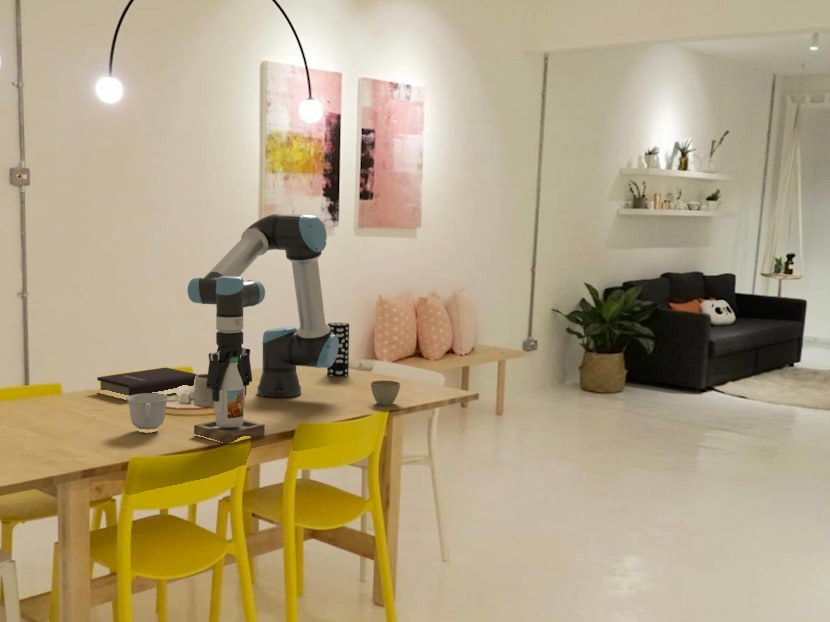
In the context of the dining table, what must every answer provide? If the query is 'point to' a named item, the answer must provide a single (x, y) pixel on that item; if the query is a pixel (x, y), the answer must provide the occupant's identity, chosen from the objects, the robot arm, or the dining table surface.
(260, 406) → the dining table surface
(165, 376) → the book
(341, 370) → the white-spotted black cylinder
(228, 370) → the milk bottle
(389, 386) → the bowl
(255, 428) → the brown wooden square tray
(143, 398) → the teacup
